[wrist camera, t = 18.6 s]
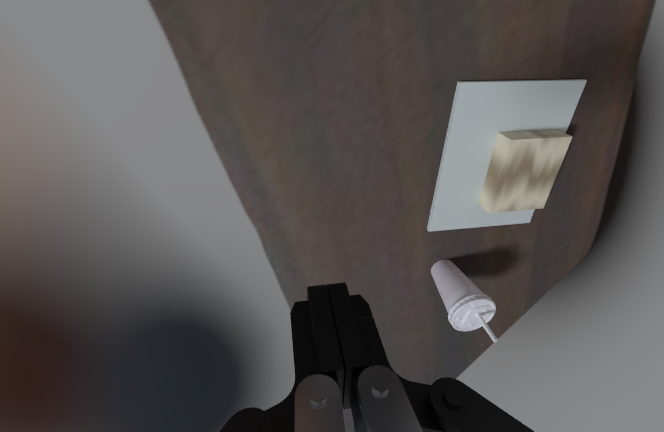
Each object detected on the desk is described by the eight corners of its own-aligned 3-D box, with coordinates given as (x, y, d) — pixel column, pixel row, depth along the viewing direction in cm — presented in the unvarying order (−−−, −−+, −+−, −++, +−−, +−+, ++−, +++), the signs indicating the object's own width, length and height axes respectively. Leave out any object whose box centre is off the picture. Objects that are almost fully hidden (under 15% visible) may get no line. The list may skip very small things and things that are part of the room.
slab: (511, 139, 38) (572, 136, 39) (498, 132, 40) (556, 129, 41) (488, 213, 43) (543, 208, 45) (478, 203, 46) (530, 198, 47)
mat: (457, 81, 37) (460, 82, 36) (583, 79, 39) (587, 80, 39) (426, 229, 47) (428, 231, 47) (526, 220, 50) (529, 222, 49)
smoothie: (469, 262, 53) (526, 335, 41) (440, 288, 55) (487, 364, 43) (444, 246, 50) (498, 319, 38) (414, 274, 52) (457, 351, 40)
